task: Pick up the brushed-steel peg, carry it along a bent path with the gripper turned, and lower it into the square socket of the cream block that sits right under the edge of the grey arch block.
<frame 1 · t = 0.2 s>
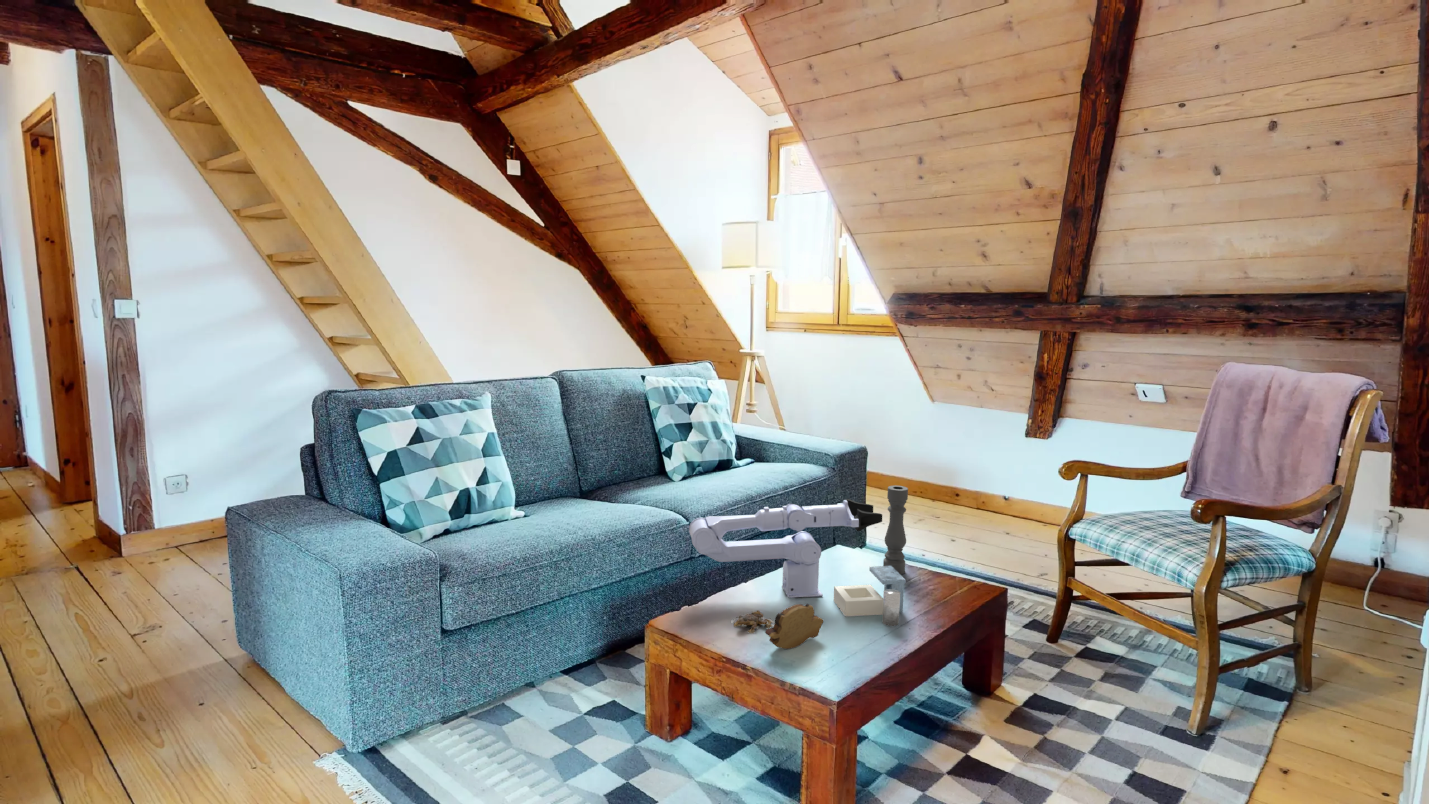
hand: (877, 513, 218), 22 cm above the table, tool horizontal, fingers open, 7 cm apart
socket block: (857, 607, 209), on the table
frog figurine: (753, 627, 198), on the table
peg: (890, 622, 200), on the table
wooden carving: (793, 646, 187), on the table
grey arch block: (885, 606, 210), on the table
candle holder: (893, 572, 235), on the table
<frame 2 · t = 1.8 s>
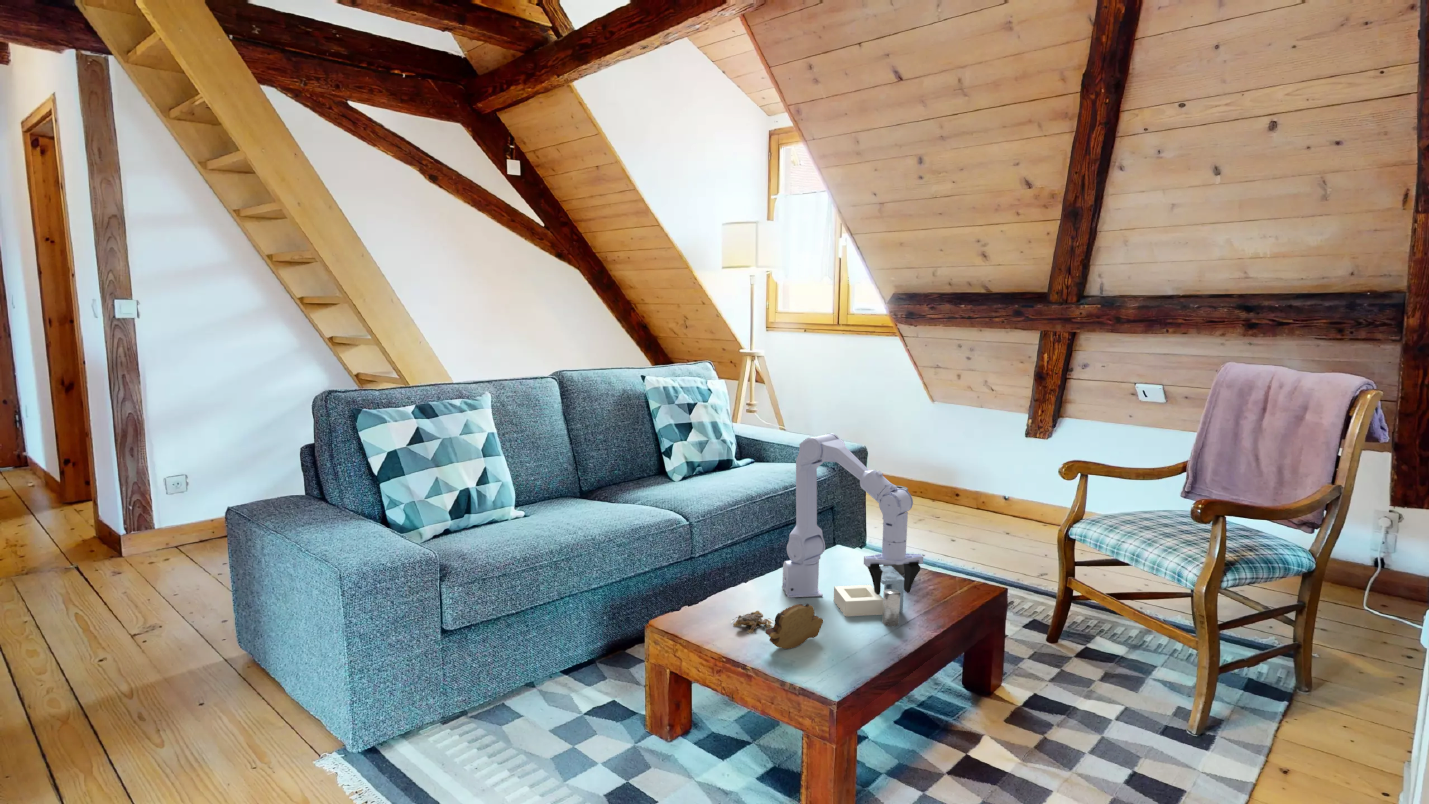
hand: (892, 592, 199), 8 cm above the table, tool pointing down, fingers open, 7 cm apart
nothing on the table moved.
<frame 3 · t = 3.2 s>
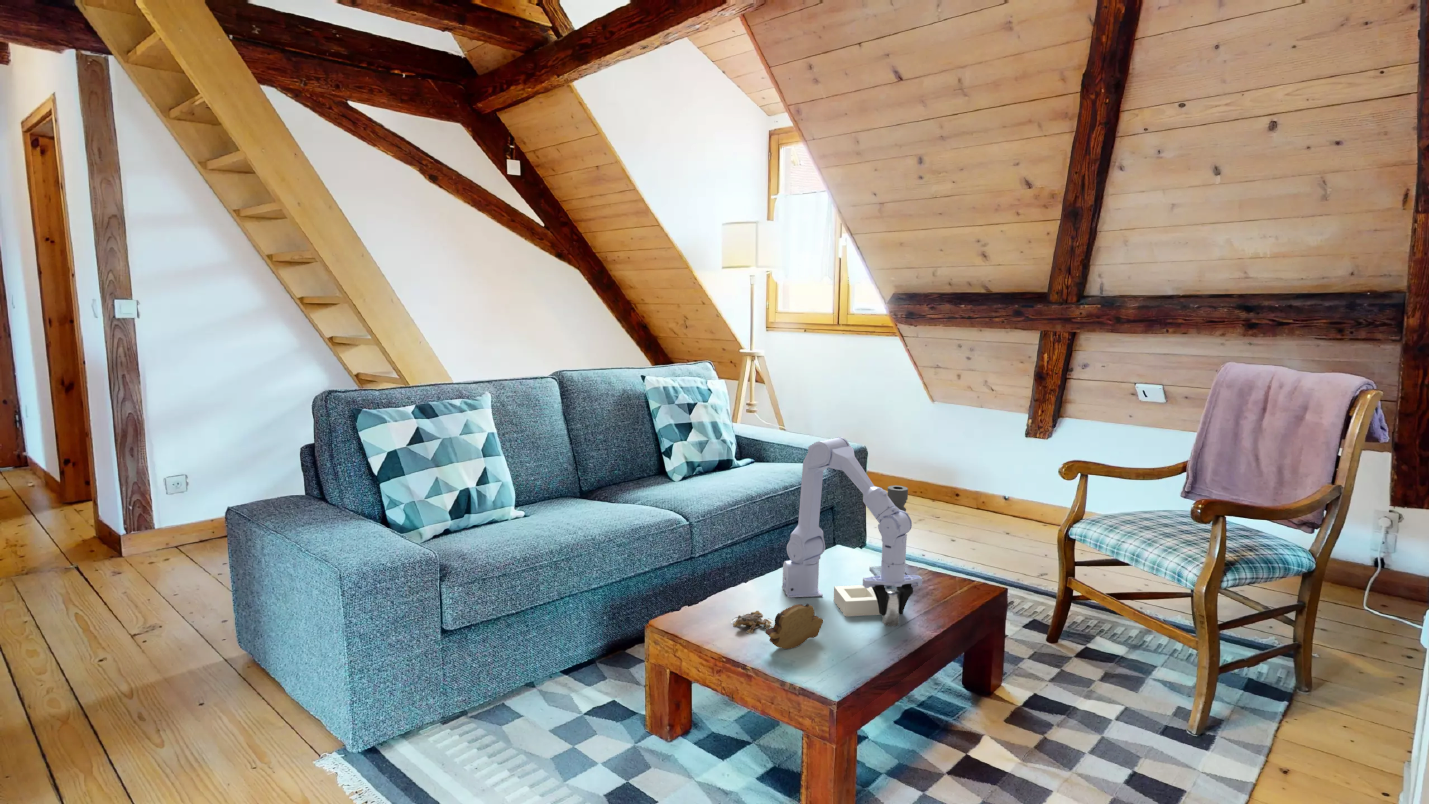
hand: (890, 613, 200), 2 cm above the table, tool pointing down, fingers closed on peg, 4 cm apart
peg: (890, 622, 200), on the table, touching gripper
everything else where it was.
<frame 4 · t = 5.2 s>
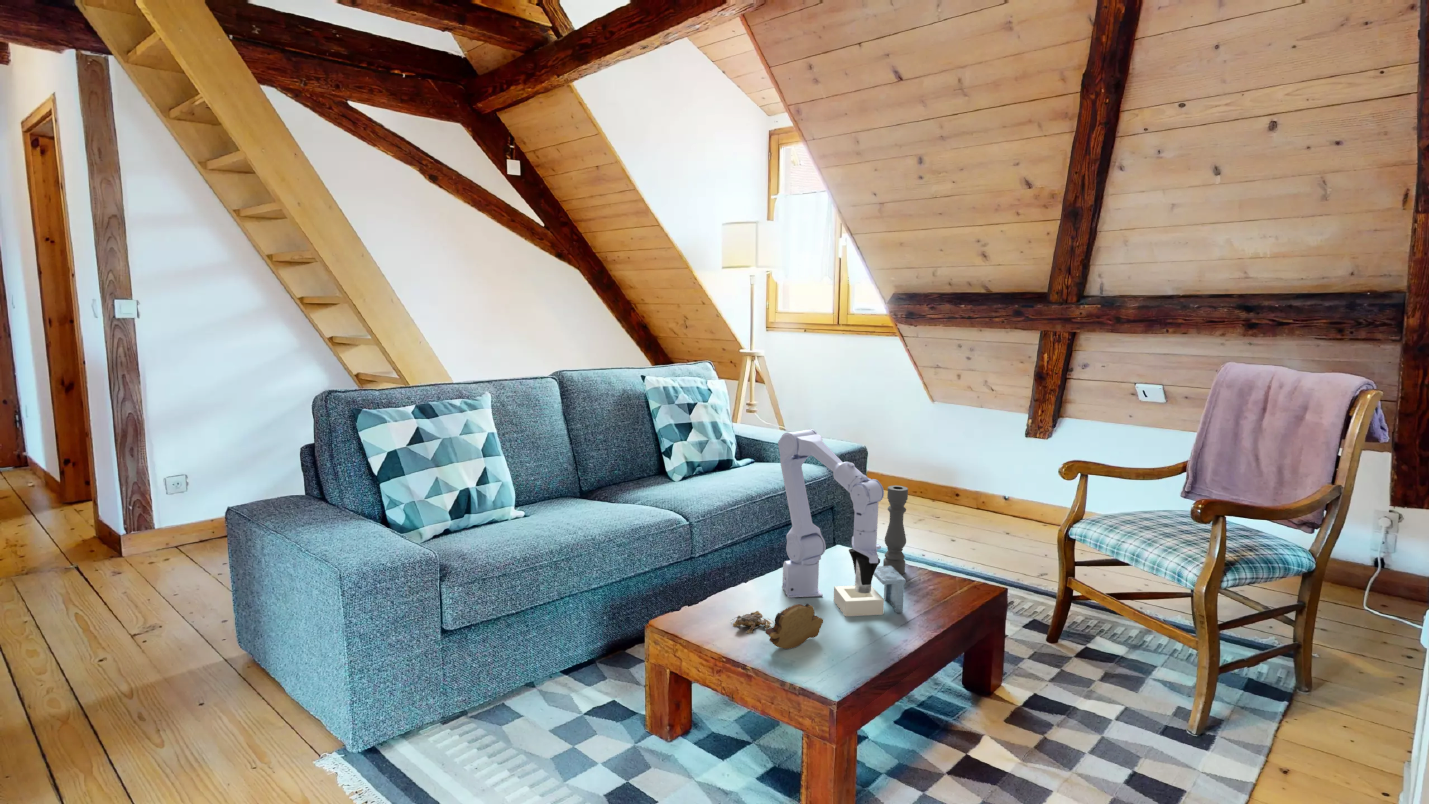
hand: (863, 580, 202), 9 cm above the table, tool pointing down, fingers closed on peg, 4 cm apart
peg: (862, 590, 203), point 7 cm above the table, touching gripper
everything else where it was.
when the fingers open (5 cm above the table, at t = 7.4 s): peg drops 1 cm, resting on socket block.
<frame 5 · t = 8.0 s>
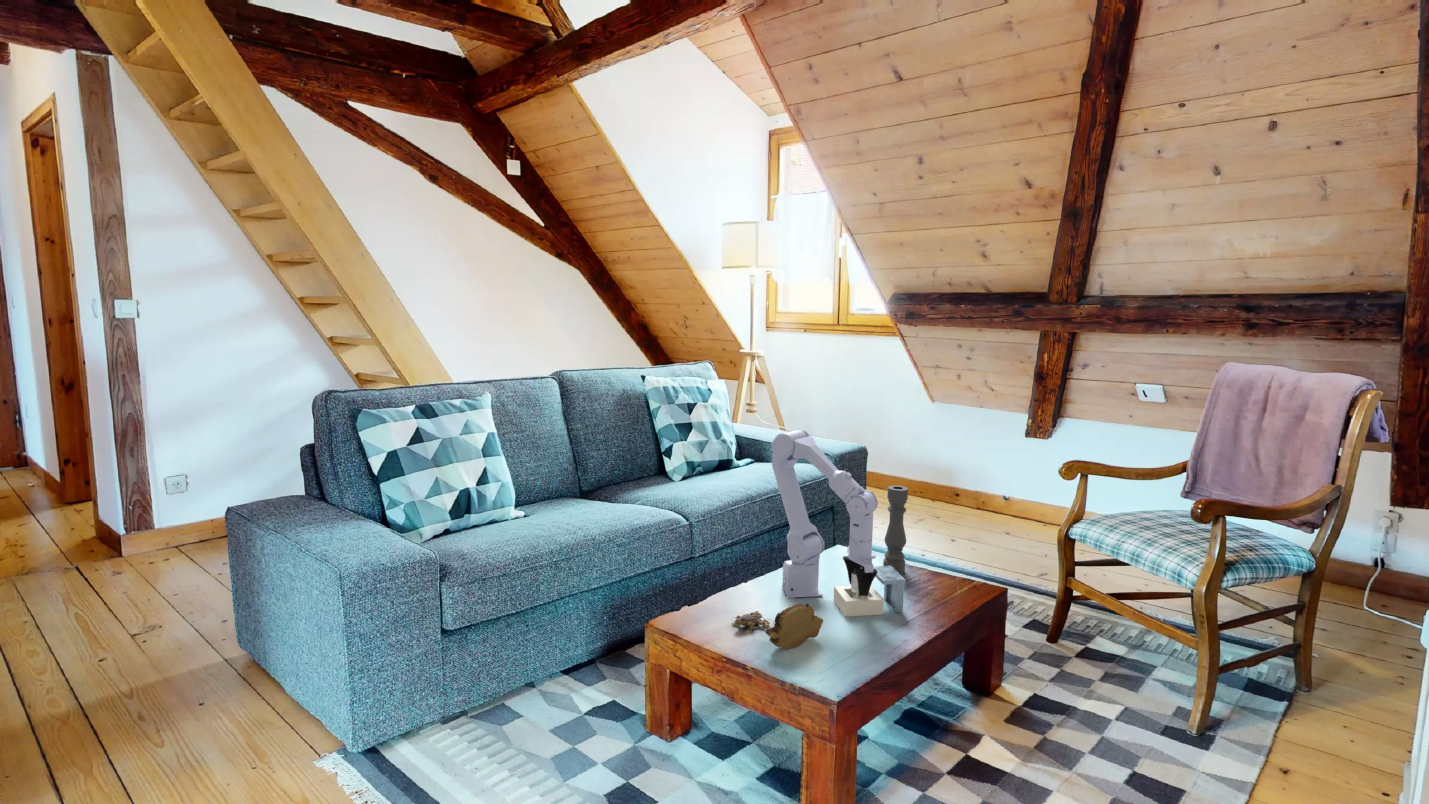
hand: (858, 589, 208), 5 cm above the table, tool pointing down, fingers open, 7 cm apart
peg: (858, 603, 209), point 1 cm above the table, touching socket block
everything else where it was.
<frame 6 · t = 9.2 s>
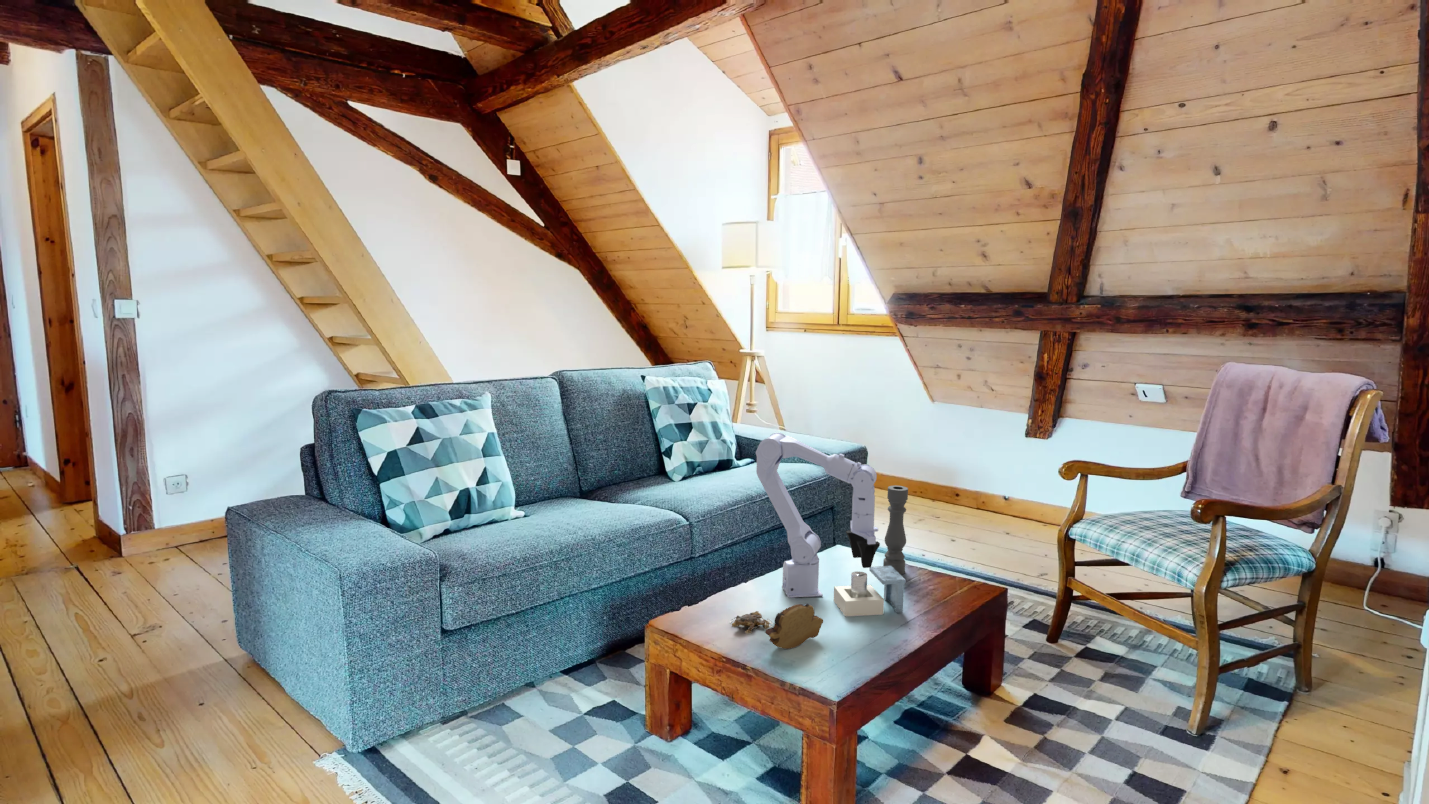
hand: (861, 562, 212), 10 cm above the table, tool pointing down, fingers open, 7 cm apart
nothing on the table moved.
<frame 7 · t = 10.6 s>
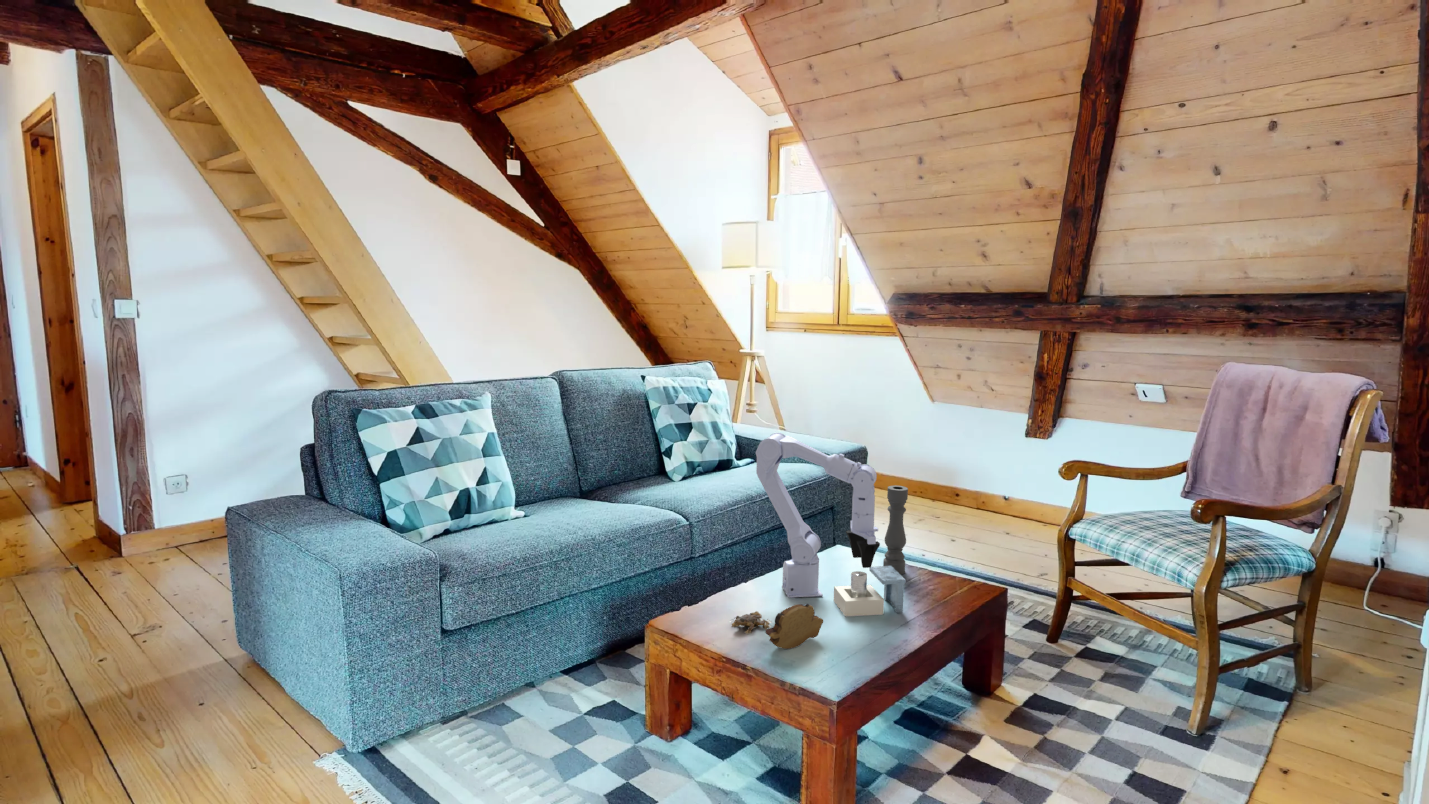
hand: (861, 562, 212), 10 cm above the table, tool pointing down, fingers open, 7 cm apart
nothing on the table moved.
at the end: peg 0.1 cm off-centre on the socket block, point 1.0 cm above the socket block's base; peg tilted 1°; the gripper is holding nothing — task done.
